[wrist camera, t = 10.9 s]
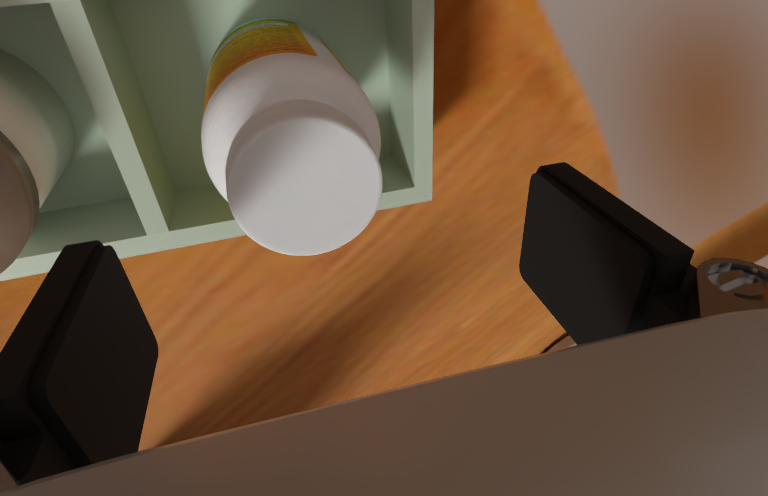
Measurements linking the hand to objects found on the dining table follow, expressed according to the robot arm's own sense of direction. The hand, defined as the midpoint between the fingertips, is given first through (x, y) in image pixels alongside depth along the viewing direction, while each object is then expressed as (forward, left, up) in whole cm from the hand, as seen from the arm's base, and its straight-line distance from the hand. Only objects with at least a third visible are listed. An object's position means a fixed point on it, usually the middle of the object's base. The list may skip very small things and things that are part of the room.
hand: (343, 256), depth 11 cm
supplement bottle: (0, -1, -12) cm, 12 cm away
